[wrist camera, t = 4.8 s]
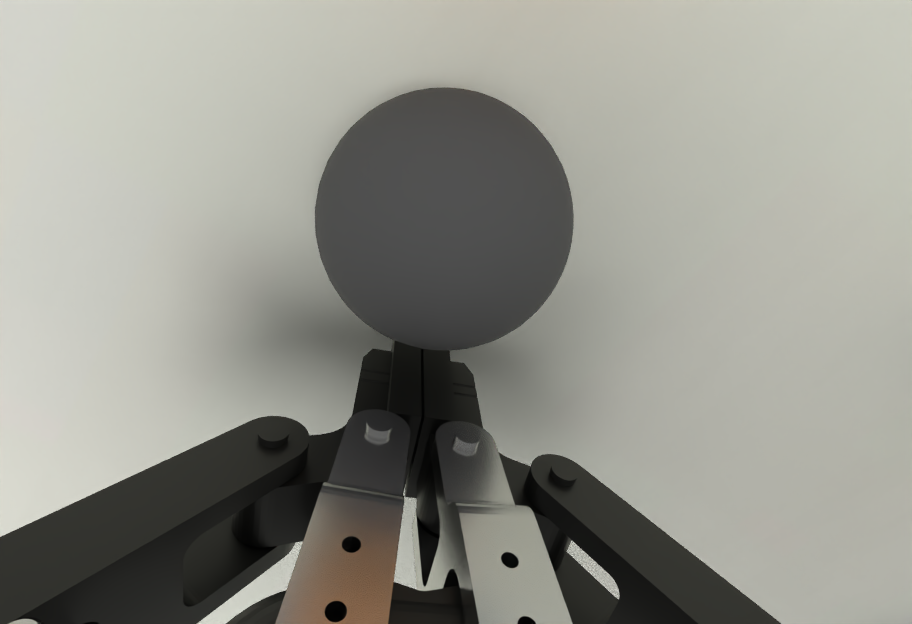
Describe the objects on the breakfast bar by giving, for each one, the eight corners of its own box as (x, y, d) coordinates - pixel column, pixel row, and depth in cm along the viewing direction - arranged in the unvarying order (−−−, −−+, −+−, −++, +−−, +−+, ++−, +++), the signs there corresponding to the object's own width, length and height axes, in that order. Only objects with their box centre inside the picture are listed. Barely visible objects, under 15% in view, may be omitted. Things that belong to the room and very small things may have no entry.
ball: (624, 360, 10) (588, 180, 13) (518, 172, 6) (501, -21, 9) (401, 410, 12) (414, 246, 16) (221, 293, 9) (287, 105, 12)
